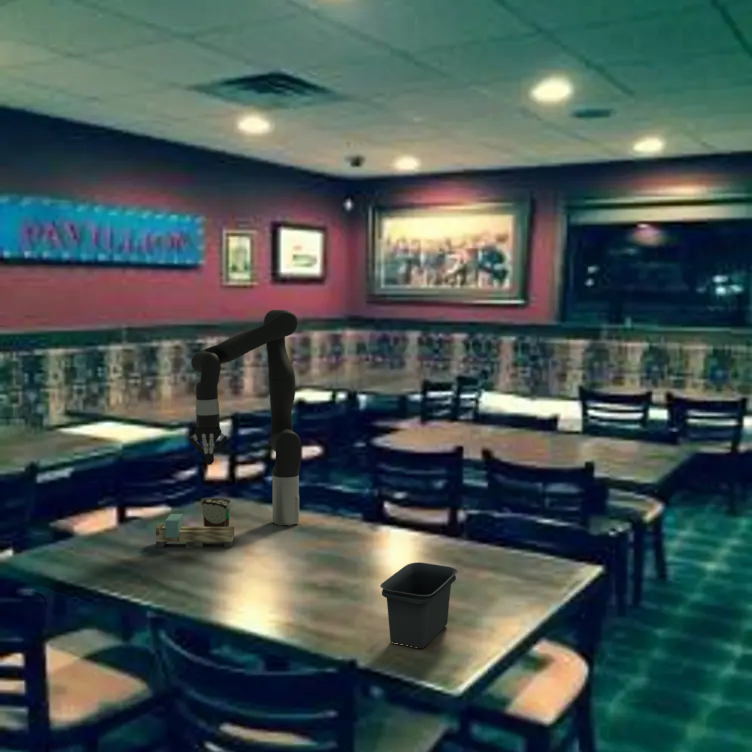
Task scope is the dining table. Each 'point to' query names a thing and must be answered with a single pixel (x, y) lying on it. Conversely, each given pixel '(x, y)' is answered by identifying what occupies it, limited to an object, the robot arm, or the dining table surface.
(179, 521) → the rider
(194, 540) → the beam
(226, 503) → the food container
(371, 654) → the dining table surface
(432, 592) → the storage bin
